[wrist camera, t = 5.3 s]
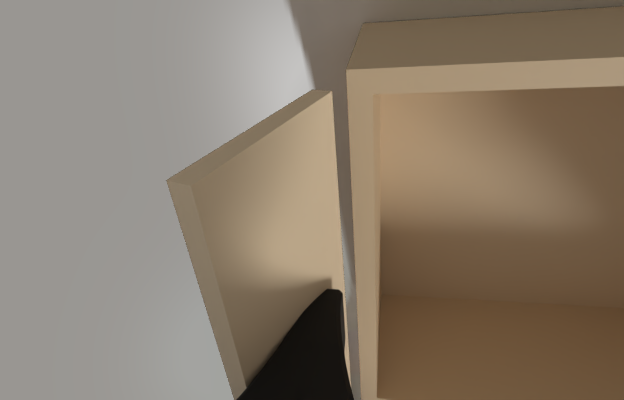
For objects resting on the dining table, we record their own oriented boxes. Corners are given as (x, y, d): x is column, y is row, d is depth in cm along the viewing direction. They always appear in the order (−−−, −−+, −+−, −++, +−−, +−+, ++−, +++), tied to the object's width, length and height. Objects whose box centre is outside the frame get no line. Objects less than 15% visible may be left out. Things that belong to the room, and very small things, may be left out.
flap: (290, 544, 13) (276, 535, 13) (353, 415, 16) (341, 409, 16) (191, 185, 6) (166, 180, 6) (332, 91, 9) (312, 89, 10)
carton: (684, 313, 19) (790, 451, 14) (369, 295, 21) (361, 406, 16) (856, -10, 12) (1188, 31, 7) (363, 23, 15) (346, 69, 10)
